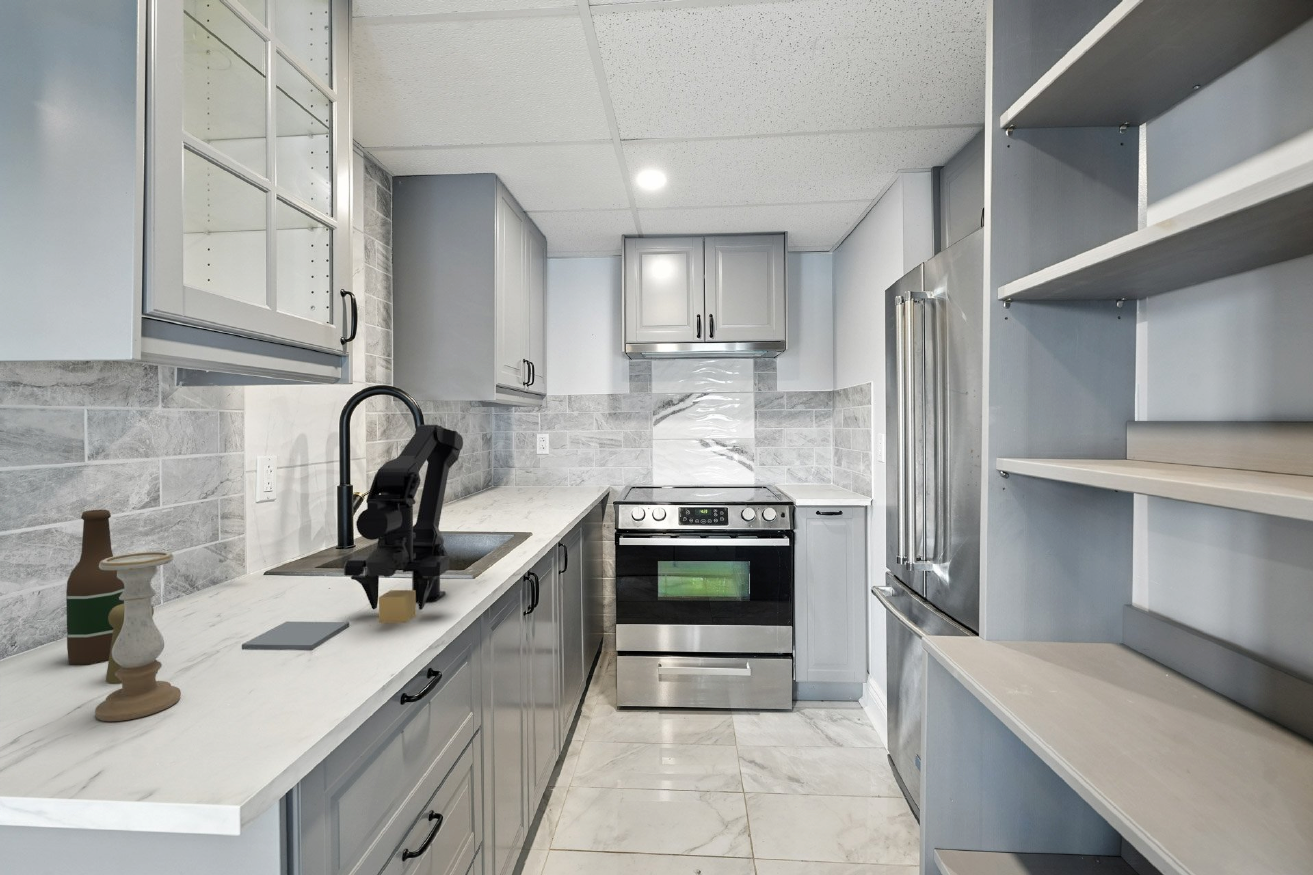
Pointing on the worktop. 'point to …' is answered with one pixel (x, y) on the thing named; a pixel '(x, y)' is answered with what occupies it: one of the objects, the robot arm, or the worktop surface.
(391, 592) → the ochre cube
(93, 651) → the beer bottle
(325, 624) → the grey mat
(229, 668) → the worktop surface
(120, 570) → the candle holder
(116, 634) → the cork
